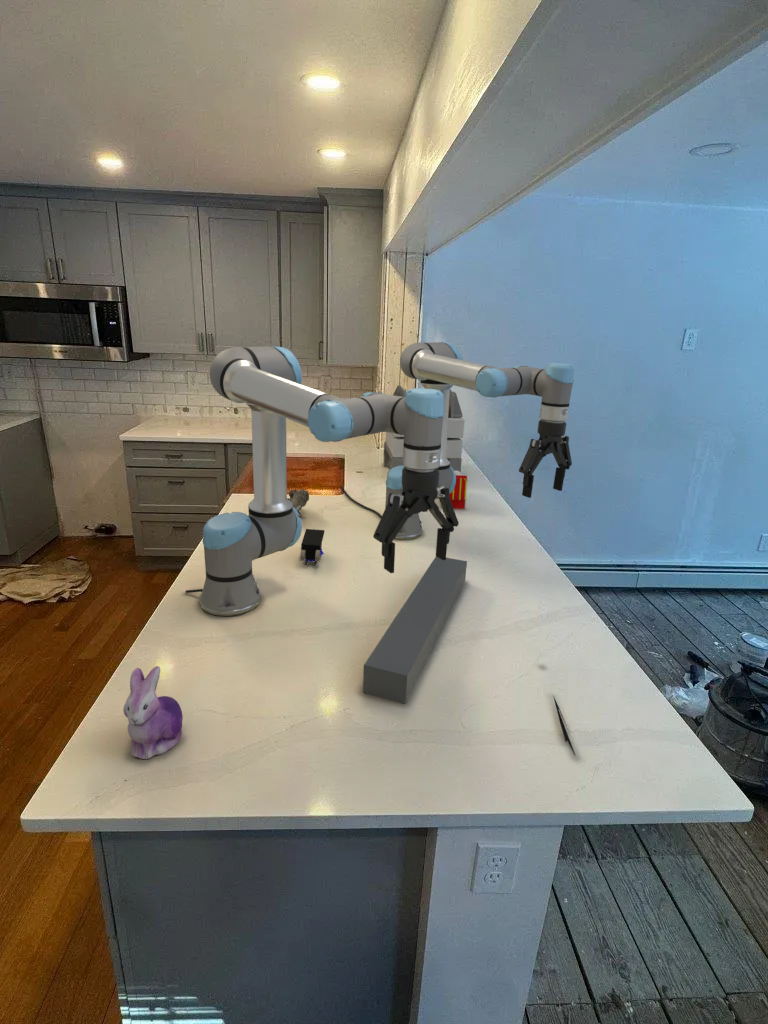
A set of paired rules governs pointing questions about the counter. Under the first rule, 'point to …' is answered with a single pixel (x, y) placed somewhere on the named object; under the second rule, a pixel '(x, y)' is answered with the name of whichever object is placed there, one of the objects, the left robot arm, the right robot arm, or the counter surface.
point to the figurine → (151, 716)
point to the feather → (563, 726)
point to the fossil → (298, 499)
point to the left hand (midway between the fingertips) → (415, 564)
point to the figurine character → (312, 546)
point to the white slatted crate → (454, 433)
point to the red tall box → (459, 491)
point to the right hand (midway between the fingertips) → (542, 493)
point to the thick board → (414, 632)
